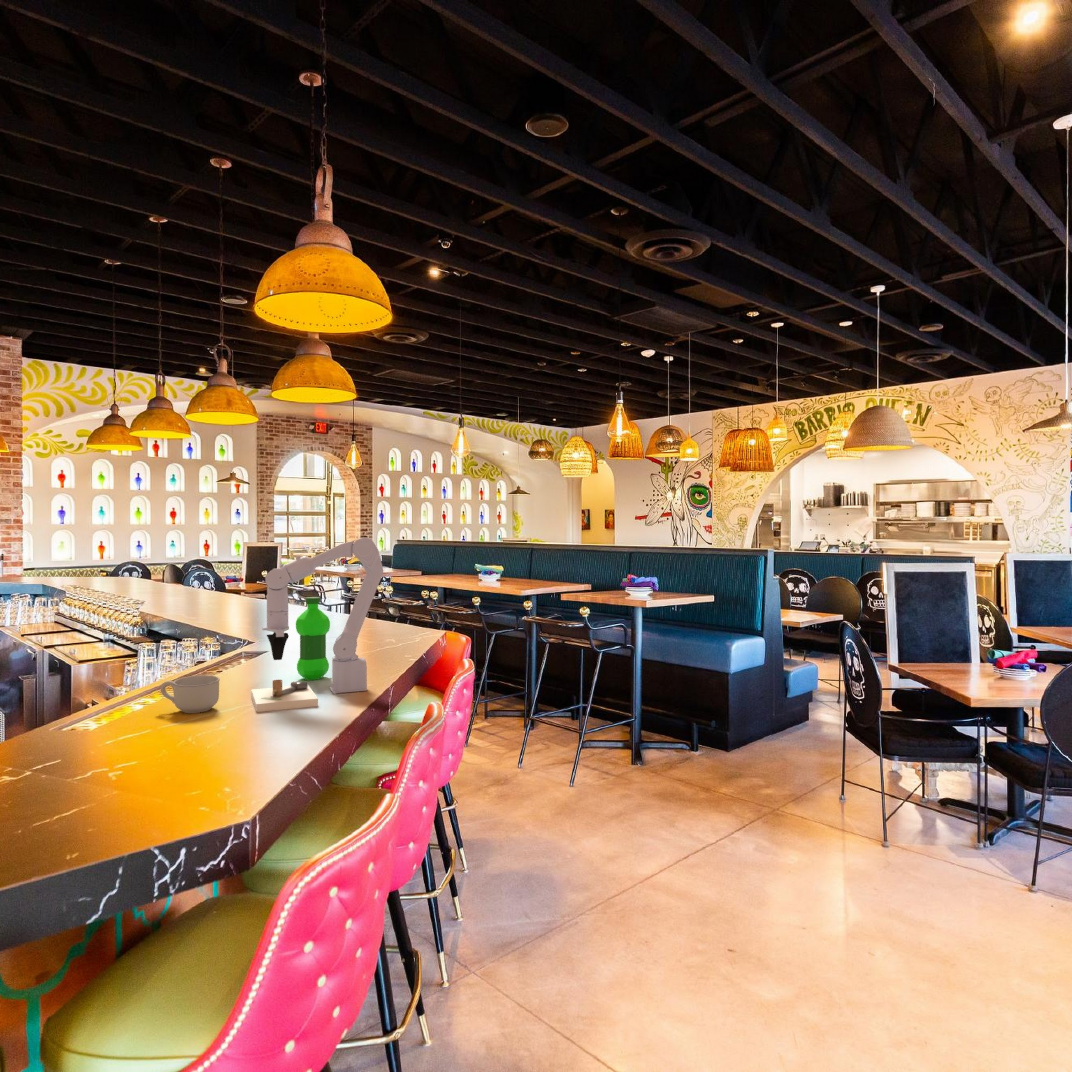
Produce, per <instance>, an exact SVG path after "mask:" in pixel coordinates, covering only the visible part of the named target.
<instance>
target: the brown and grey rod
mask: <svg viewBox="0 0 1072 1072" xmlns="http://www.w3.org/2000/svg"><path fill="white" fill-rule="evenodd" d="M308 685H309V683H308V680H307V681H306V680H296V681H292V682H290V686H291V687H290V688H287V689H285V690H282V687H283V679H274V680H272V688H273V696H271V698H273V697H280V696H282V695H284V694H286V693H289V692H292V691H295V690H302V689H306V688H308Z"/></svg>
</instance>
